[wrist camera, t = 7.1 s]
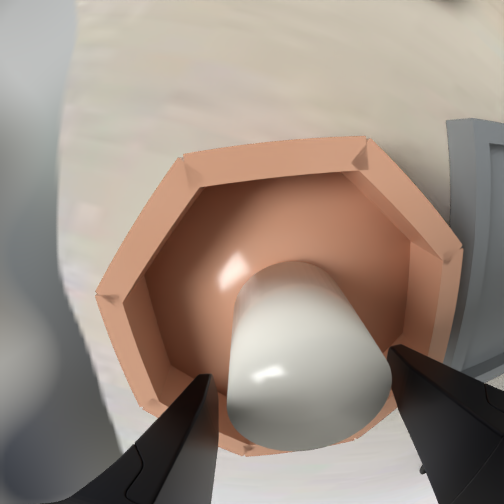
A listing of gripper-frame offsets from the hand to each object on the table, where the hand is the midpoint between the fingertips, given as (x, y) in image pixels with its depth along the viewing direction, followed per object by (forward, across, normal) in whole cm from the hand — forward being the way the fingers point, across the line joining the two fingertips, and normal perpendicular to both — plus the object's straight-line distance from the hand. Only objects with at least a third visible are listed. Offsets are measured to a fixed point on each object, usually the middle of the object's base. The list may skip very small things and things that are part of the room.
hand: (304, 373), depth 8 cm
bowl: (+5, 0, 0) cm, 5 cm away
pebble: (+4, 0, 0) cm, 4 cm away
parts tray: (+5, -16, 0) cm, 17 cm away
